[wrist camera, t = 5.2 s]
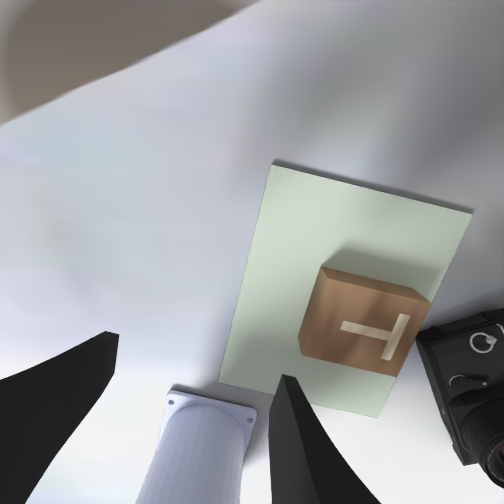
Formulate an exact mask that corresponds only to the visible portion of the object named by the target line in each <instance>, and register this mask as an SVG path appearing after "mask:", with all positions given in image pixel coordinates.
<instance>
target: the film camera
mask: <svg viewBox="0 0 504 504" xmlns="http://www.w3.org/2000/svg"><path fill="white" fill-rule="evenodd" d="M415 341H416V344H417V347H418V350H419V353H420V356H421V359H422V361H423V364H424V367H425V370H426V373H427V376H428V379H429V382H430V385H431V388H432V391H433V394H434V397H435V400H436V403H437V406H438V409H439V412H440V415H441V418H442V420H443V423H444V424H445V426H446V428H447V430H448V432H449V434H450V437H451V439H452V442H453V445H452V446H453V449H454V451H455V452H456V454H457V456H458V457H459V459H460V461H461V462H462V464H463V466H465V465H471V464H476V463H479V465H480V466H481V467H482V469H483V471H484V472H485V473H486V474H487V475H488V477H489V478H490V479H491V480H492V482H494V483H495V484H496V485H498V486H500V487H502V488H504V308H502V309H499V310H495V311H492V312H488V313H487V312H486V311H485V312H482V313H481V315H478V316H475V317H471V318H468V319H464V320H461V321H458V322H454V323H451V324H447V325H444V326H441V327H436V326H433V327H431V329H430V330H427V331H423V332H420V333H417V335H416V337H415Z"/></svg>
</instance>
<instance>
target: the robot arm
mask: <svg viewBox="0 0 504 504" xmlns="http://www.w3.org/2000/svg"><path fill="white" fill-rule="evenodd" d="M118 341H119V334H115V333H111V332H107V331H105V332H103V333H100V334H99V335H97V336H95V337H93V338H91V339H89V340H87V341H85V342H83V343H81V344H79V345H77V346H75V347H73V348H71V349H69V350H68V351H66V352H64V353H62V354H60V355H58V356H55V357H53V358H51V359H49V360H47V361H44V362H42V363H40V364H38V365H36V366H34V367H31V368H29V369H27V370H24V371H22V372H19V373H17V374H15V375H12V376H9V377H7V378H4V379H1V380H0V504H25V503H26V501H27V499H28V498H29V496H30V494H31V493H32V491H33V490H34V488H35V487H36V485H37V483H38V482H39V480H40V479H41V477H42V476H43V474H44V473H45V471H46V469H47V468H48V466H49V465H50V463H51V462H52V460H53V459H54V457H55V456H56V455H57V453H58V452H59V450H60V449H61V448H62V446H63V445H64V444H65V442H66V441H67V440H68V438H69V437H70V436H71V435H72V433H73V432H74V431H75V429H76V428H77V427H78V425H79V424H80V423H81V421H82V420H83V419H84V418H85V416H86V415H87V414H88V412H89V411H90V410H91V408H92V407H93V406H94V404H95V403H96V402H97V400H98V399H99V398H100V396H101V395H102V393H103V392H104V390H105V388H106V387H107V385H108V383H109V381H110V380H111V378H112V376H113V375H114V371H115V364H116V356H117V348H118ZM170 400H172V401H170ZM249 418H252V419H249ZM256 418H257V411H256V410H255V409H253V408H249V407H245V406H241V405H236V404H232V403H227V402H223V401H219V400H214V399H210V398H205V397H201V396H197V395H192V394H188V393H183V392H179V391H175V390H171V391H169V392H168V394H167V396H166V401H165V406H164V412H163V417H162V423H161V428H160V434H159V439H158V444H157V449H156V452H155V455H154V457H153V460H152V462H151V465H150V467H149V470H148V473H147V475H146V478H145V480H144V483H143V485H142V488H141V491H140V493H139V496H138V498H137V501H136V503H135V504H239V502H240V489H241V476H242V463H243V460H244V457H245V454H246V450H247V447H248V444H249V441H250V437H251V434H252V431H253V428H254V424H255V421H256ZM268 438H269V457H270V474H271V491H272V504H381V503H380V502H379V501H378V500H377V499H376V497H375V496H374V495H373V494H372V493H371V492H370V491H369V489H368V488H367V487H366V486H365V485H364V483H363V482H362V481H361V480H360V479H359V477H358V476H357V475H356V474H355V472H354V471H353V470H352V469H351V467H350V466H349V465H348V463H347V462H346V461H345V459H344V458H343V457H342V455H341V454H340V453H339V451H338V450H337V448H336V447H335V445H334V444H333V442H332V441H331V439H330V438H329V436H328V435H327V433H326V432H325V430H324V428H323V427H322V425H321V423H320V421H319V420H318V418H317V416H316V414H315V413H314V411H313V409H312V407H311V406H310V404H309V402H308V400H307V398H306V396H305V394H304V392H303V390H302V388H301V386H300V384H299V382H298V380H297V379H296V377H293V376H289V375H285V374H282V375H281V378H280V381H279V384H278V387H277V390H276V393H275V396H274V399H273V402H272V405H271V408H270V414H269V433H268Z"/></svg>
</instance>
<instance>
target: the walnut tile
mask: <svg viewBox="0 0 504 504" xmlns="http://www.w3.org/2000/svg"><path fill="white" fill-rule="evenodd" d="M430 305H431V302H429V301H428V300H427V299H426V298H424V297H423V296H422V295H421V294H419V293H418V292H417V291H416V290H414V289H413V288H410V287H406V286H401V285H397V284H393V283H389V282H385V281H381V280H376V279H372V278H368V277H364V276H360V275H356V274H352V273H347V272H343V271H339V270H335V269H331V268H327V267H322V266H320V269H319V272H318V275H317V278H316V281H315V284H314V287H313V290H312V293H311V296H310V299H309V302H308V306H307V309H306V312H305V315H304V318H303V321H302V324H301V327H300V330H299V333H298V341H299V346H300V351H301V355H302V356H307V357H311V358H315V359H320V360H324V361H328V362H333V363H337V364H341V365H345V366H350V367H354V368H358V369H363V370H367V371H371V372H375V373H380V374H384V375H388V376H393V377H397V376H398V374H399V371H400V369H401V367H402V365H403V363H404V361H405V359H406V357H407V354H408V352H409V350H410V348H411V346H412V344H413V342H414V339H415V337H416V335H417V333H418V331H419V329H420V327H421V324H422V322H423V320H424V318H425V316H426V314H427V312H428V309H429V307H430Z"/></svg>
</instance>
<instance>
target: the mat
mask: <svg viewBox="0 0 504 504" xmlns="http://www.w3.org/2000/svg"><path fill="white" fill-rule="evenodd" d="M472 216H473V214H469V213H465V212H461V211H457V210H453V209H449V208H445V207H441V206H437V205H433V204H428V203H424V202H420V201H416V200H412V199H408V198H404V197H400V196H396V195H392V194H388V193H384V192H380V191H376V190H372V189H368V188H364V187H360V186H356V185H352V184H348V183H344V182H340V181H336V180H332V179H328V178H324V177H320V176H316V175H312V174H308V173H304V172H300V171H296V170H292V169H288V168H284V167H280V166H275V165H271V167H270V171H269V175H268V179H267V183H266V187H265V191H264V195H263V199H262V203H261V207H260V211H259V215H258V220H257V224H256V228H255V232H254V236H253V240H252V244H251V248H250V252H249V256H248V260H247V264H246V269H245V273H244V277H243V281H242V285H241V289H240V293H239V297H238V301H237V305H236V309H235V313H234V317H233V322H232V326H231V330H230V334H229V338H228V342H227V346H226V350H225V354H224V358H223V362H222V366H221V370H220V375H219V379H218V382H219V383H224V384H228V385H232V386H237V387H241V388H246V389H250V390H254V391H259V392H263V393H267V394H272V395H275V393H276V390H277V387H278V384H279V381H280V378H281V375H282V374H285V375H289V376H293V377H296V379H297V380H298V382H299V384H300V386H301V388H302V390H303V392H304V394H305V396H306V398H307V400H308V402H309V403H311V404H315V405H320V406H324V407H329V408H333V409H337V410H342V411H346V412H350V413H355V414H359V415H364V416H368V417H372V418H377V419H378V417H379V414H380V412H381V410H382V408H383V406H384V404H385V402H386V399H387V397H388V395H389V393H390V391H391V389H392V387H393V384H394V382H395V380H396V378H397V377H393V376H388V375H384V374H380V373H375V372H371V371H367V370H363V369H358V368H354V367H350V366H345V365H341V364H337V363H333V362H328V361H324V360H320V359H315V358H311V357H307V356H302V355H301V351H300V346H299V341H298V333H299V330H300V327H301V324H302V321H303V318H304V315H305V312H306V309H307V306H308V302H309V299H310V296H311V293H312V290H313V287H314V284H315V281H316V278H317V275H318V272H319V269H320V266H322V267H327V268H331V269H335V270H339V271H343V272H347V273H352V274H356V275H360V276H364V277H368V278H372V279H376V280H381V281H385V282H389V283H393V284H397V285H401V286H406V287H410V288H413V289H414V290H416V291H417V292H418V293H419V294H421V295H422V296H423V297H424V298H426V299H427V300H428V301H429V302H431V303H432V301H433V299H434V297H435V295H436V293H437V290H438V288H439V286H440V284H441V282H442V280H443V278H444V275H445V273H446V271H447V269H448V267H449V265H450V263H451V260H452V258H453V256H454V254H455V252H456V250H457V248H458V245H459V243H460V241H461V239H462V237H463V235H464V233H465V231H466V228H467V226H468V224H469V222H470V220H471V218H472ZM429 308H430V307H429ZM428 310H429V309H428ZM421 325H422V324H421ZM414 340H415V339H414ZM407 355H408V354H407ZM400 370H401V369H400ZM399 372H400V371H399Z"/></svg>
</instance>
